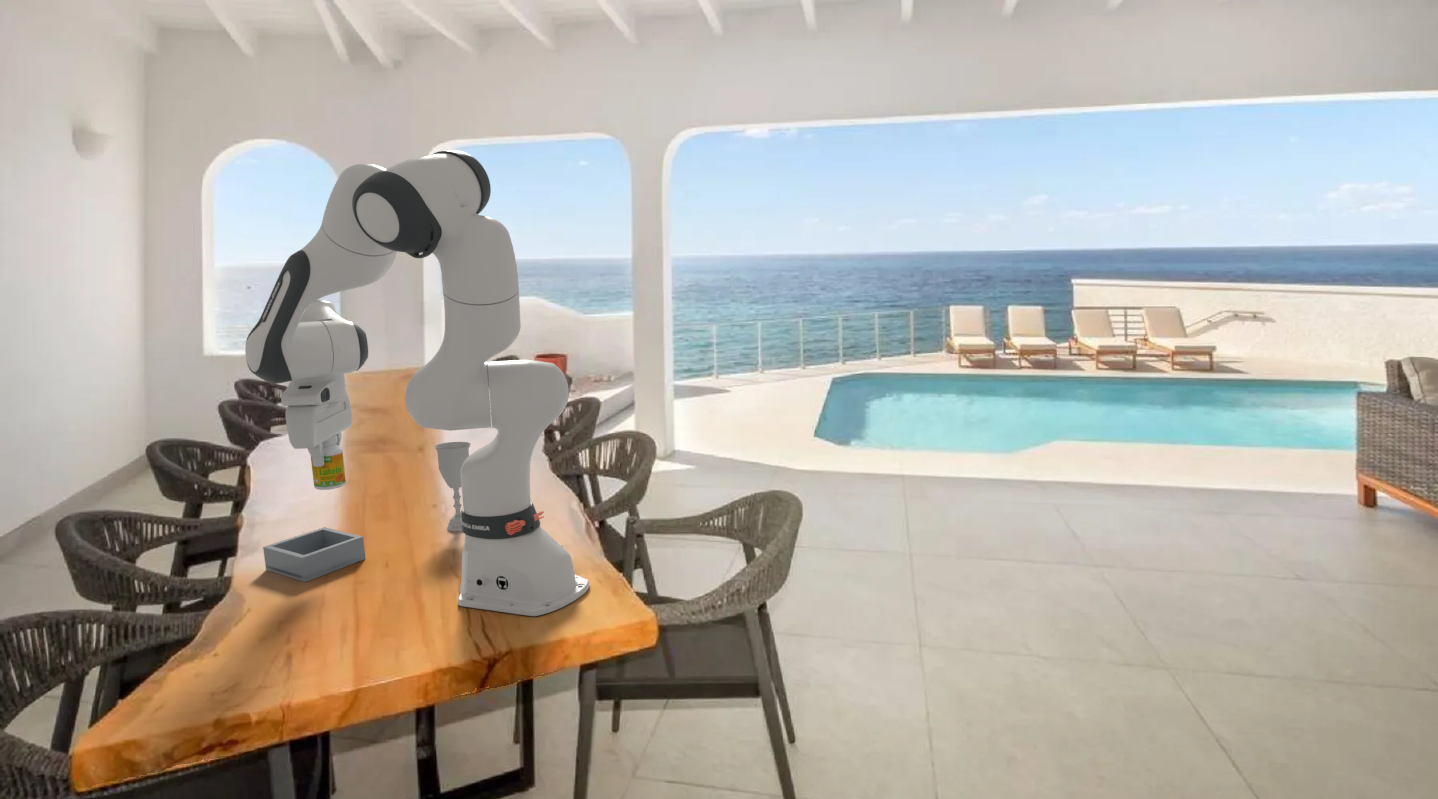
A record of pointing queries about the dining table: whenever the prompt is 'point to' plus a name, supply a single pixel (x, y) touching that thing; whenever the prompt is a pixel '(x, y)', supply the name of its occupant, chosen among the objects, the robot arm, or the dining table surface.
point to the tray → (314, 553)
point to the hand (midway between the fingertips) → (327, 461)
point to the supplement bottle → (330, 467)
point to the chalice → (453, 474)
